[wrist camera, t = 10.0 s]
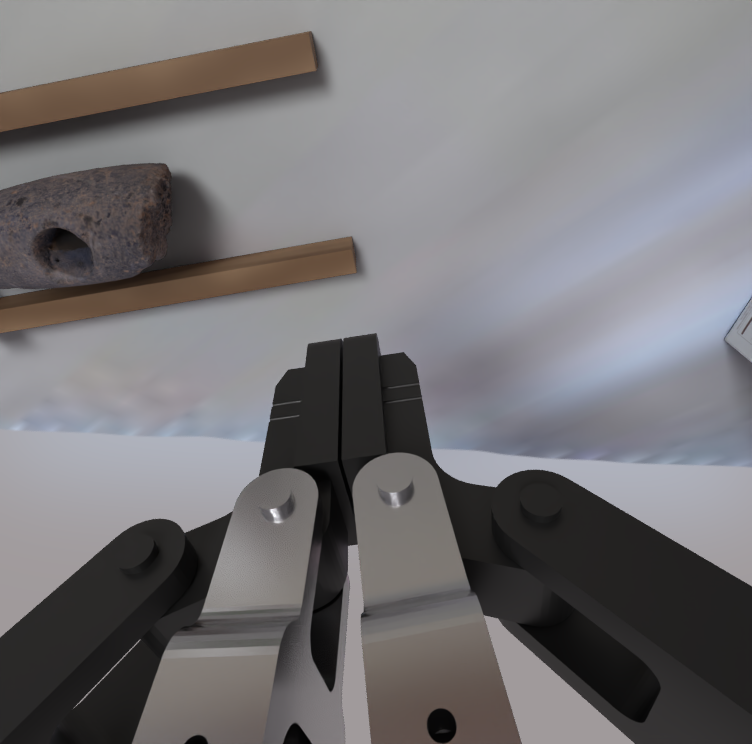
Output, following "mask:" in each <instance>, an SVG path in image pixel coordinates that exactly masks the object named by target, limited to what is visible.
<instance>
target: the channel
mask: <svg viewBox="0 0 752 744" xmlns="http://www.w3.org/2000/svg"><path fill="white" fill-rule="evenodd" d="M317 68H318V63H317V58H316V53H315V48H314V43H313V38H312V33H311V31H310V32H304V33H299V34H294V35H289V36H284V37H279V38H274V39H269V40H264V41H259V42H254V43H249V44H244V45H239V46H234V47H229V48H224V49H219V50H214V51H209V52H204V53H199V54H194V55H189V56H184V57H179V58H174V59H169V60H163V61H158V62H153V63H148V64H143V65H138V66H133V67H128V68H123V69H118V70H113V71H108V72H103V73H98V74H93V75H88V76H83V77H78V78H73V79H68V80H63V81H58V82H53V83H48V84H43V85H38V86H33V87H28V88H22V89H17V90H12V91H7V92H2V93H0V132H3V131H8V130H13V129H18V128H23V127H29V126H34V125H39V124H44V123H49V122H54V121H60V120H65V119H70V118H75V117H80V116H85V115H90V114H96V113H101V112H106V111H111V110H116V109H121V108H127V107H132V106H137V105H142V104H147V103H152V102H158V101H163V100H168V99H173V98H178V97H183V96H189V95H194V94H199V93H204V92H209V91H214V90H219V89H225V88H230V87H235V86H240V85H245V84H250V83H256V82H261V81H266V80H271V79H276V78H281V77H287V76H292V75H297V74H302V73H307V72H312V71H316V70H317ZM352 273H357V272H356V256H355V251H354V246H353V241H352V237H346V238H340V239H334V240H329V241H323V242H317V243H311V244H306V245H300V246H294V247H288V248H283V249H277V250H271V251H265V252H260V253H254V254H248V255H242V256H237V257H231V258H225V259H219V260H214V261H208V262H202V263H196V264H191V265H185V266H179V267H173V268H168V269H162V270H156V271H150V272H144V273H140V274H138V275H136V276H134V277H132V278H127V279H122V280H117V281H110V282H104V283H98V284H90V285H83V286H72V287H62V288H52V289H47V290H41V291H35V292H29V293H24V294H18V295H12V296H6V297H1V298H0V333H4V332H10V331H16V330H22V329H28V328H34V327H39V326H45V325H51V324H57V323H63V322H69V321H75V320H81V319H87V318H93V317H99V316H104V315H110V314H116V313H122V312H128V311H134V310H140V309H146V308H152V307H158V306H163V305H169V304H175V303H181V302H187V301H193V300H199V299H205V298H211V297H217V296H222V295H228V294H234V293H240V292H246V291H252V290H258V289H264V288H270V287H276V286H282V285H287V284H293V283H299V282H305V281H311V280H317V279H323V278H329V277H335V276H341V275H346V274H352Z"/></svg>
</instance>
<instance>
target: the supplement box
mask: <svg viewBox="0 0 752 744" xmlns="http://www.w3.org/2000/svg"><path fill="white" fill-rule="evenodd" d="M725 341H726V342H727V343H729V344H730V345H731V346H732V347H733V348H735V349H736V350H737V351H738V352H739V353H741V354H742V355H743V356H744V357H745V358H747V359H748V360H749V361H750V362H751V363H752V298H751V300H750V301H749V303H748V304H747V306H746V307H745V309H744V310H743V312H742V314H741V315H740V317H739V318H738V320H737V321H736V323H735V324H734V326H733V327H732V329H731V330H730V332H729V333H728V335H727V336H726V338H725Z"/></svg>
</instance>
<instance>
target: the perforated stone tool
mask: <svg viewBox="0 0 752 744" xmlns="http://www.w3.org/2000/svg"><path fill="white" fill-rule="evenodd" d="M171 178H172V176H171V172H170V171H169V168H168V167H167V165H166V164H162V163H159V164H156V163H148V164H131V165H121V166H112V167H105V168H96V169H91V170H86V171H79V172H73V173H68V174H62V175H56V176H52V177H47V178H43V179H39V180H35V181H32V182H28V183H24V184H20V185H16V186H13V187H10V188H7V189H3V190H0V289H10V288H23V289H38V288H62V287H72V286H83V285H90V284H98V283H104V282H110V281H117V280H122V279H127V278H132V277H134V276H136V275H138V274H140V273H141V271H142V270H143V269H145V268H147V267H149V266H151V265H152V264H153V263H154V261H155V260H160V259H163V258H164V257H165V255H166V252H167V246H168V245H167V240H166V235H167V234H168V233H169V232H170V226H171V225H172V218H171V217H172V204H171V198H172V191H171V185H170V181H171Z"/></svg>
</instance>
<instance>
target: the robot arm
mask: <svg viewBox="0 0 752 744" xmlns="http://www.w3.org/2000/svg"><path fill="white" fill-rule="evenodd" d="M357 544H358V551H359V560H360V571H361V580H362V590H363V601H364V612H363V613H362V614H361V637H362V649H363V659H364V670H365V681H366V692H367V703H368V714H369V725H370V735H371V744H522V743H521V739H520V736H519V732H518V729H517V726H516V722H515V719H514V716H513V713H512V709H511V706H510V702H509V699H508V696H507V692H506V689H505V685H504V682H503V679H502V676H501V672H500V669H499V665H498V662H497V658H496V655H495V652H494V648H493V645H492V642H491V638H490V635H489V632H488V628H487V625H486V621H485V618H484V615H485V616H490V617H494V618H498V619H499V620H500V622H501V623H502V625H503V626H504V627H505V628H506V629H507V630H508V631H509V632H510V633H511V634H513V635H514V636H515V637H516V638H517V639H518V640H519V641H520V642H522V643H523V644H524V645H525V646H526V647H527V648H528V649H529V650H531V651H532V652H533V653H534V654H535V655H536V656H537V657H538V658H540V659H541V660H542V661H543V662H544V663H545V664H546V665H547V666H549V667H550V668H551V669H552V670H553V671H554V672H555V673H556V674H557V675H559V676H560V677H561V678H562V679H563V680H564V681H565V682H567V683H568V684H569V685H570V686H571V687H572V688H573V689H574V690H576V691H577V692H578V693H579V694H580V695H581V696H582V697H583V698H584V699H586V700H587V701H588V702H589V703H590V704H591V705H592V706H593V707H595V708H596V709H597V710H598V711H599V712H600V713H601V714H602V715H604V716H605V717H606V718H607V719H608V720H609V721H610V722H611V723H612V724H614V725H615V726H616V727H617V728H618V729H619V730H620V731H621V732H623V733H624V734H625V735H626V736H627V737H628V738H629V739H631V741H633V742H634V743H635V744H752V586H750V585H748V584H747V583H745V582H743V581H741V580H740V579H738V578H736V577H735V576H733V575H731V574H730V573H728V572H726V571H725V570H723V569H721V568H719V567H718V566H716V565H714V564H713V563H711V562H709V561H707V560H706V559H704V558H702V557H700V556H699V555H697V554H696V553H694V552H692V551H690V550H689V549H687V548H685V547H684V546H682V545H680V544H678V543H677V542H675V541H673V540H672V539H670V538H668V537H666V536H665V535H663V534H661V533H660V532H658V531H656V530H655V529H653V528H651V527H649V526H648V525H646V524H644V523H643V522H641V521H639V520H637V519H636V518H634V517H632V516H631V515H629V514H627V513H625V512H624V511H622V510H620V509H619V508H617V507H615V506H613V505H612V504H610V503H608V502H607V501H605V500H603V499H602V498H600V497H598V496H597V495H595V494H593V493H591V492H590V491H588V490H586V489H585V488H583V487H581V486H579V485H578V484H576V483H574V482H573V481H571V480H569V479H567V478H565V477H563V476H561V475H559V474H556V473H553V472H549V471H544V470H526V471H520V472H518V473H514V474H512V475H510V476H508V477H507V478H505V479H504V480H503V481H502V482H501V483H500V484H499V485H498V486H497V487H496V488H495V487H488V486H481V485H475V484H470V483H465V482H462V481H459V480H457V479H455V478H453V477H451V476H450V475H448V474H447V473H445V472H444V471H443V470H442V469H441V468H440V467H439V466H438V464H437V463H436V461H435V460H434V457H433V454H432V450H431V444H430V439H429V434H428V428H427V423H426V417H425V412H424V406H423V401H422V396H421V390H420V385H419V379H418V374H417V368H416V365H415V364H414V363H413V362H412V361H411V360H410V359H409V358H408V356H407V355H406V354H405V353H404V352H402V353H396V354H389V355H382V356H381V353H380V348H379V342H378V337H377V333H375V334H368V335H362V336H355V337H349V338H344V340H343V341H342V339H337V340H330V341H323V342H317V343H310V344H308V347H307V356H306V364H305V367H304V368H297V369H291V370H288V371H287V372H286V373H285V375H284V376H283V377H282V379H281V380H280V381H279V383H278V384H277V385H276V388H275V393H274V399H273V407H272V409H271V415H270V422H269V426H268V431H267V436H266V442H265V448H264V453H263V458H262V463H261V469H260V474H259V477H257V478H256V479H254V480H253V481H252V482H250V483H249V484H248V485H247V486H246V487H245V488H244V490H243V491H242V492H241V493H240V495H239V497H238V499H237V501H236V503H235V506H234V510H233V511H232V512H231V513H229V514H227V515H226V516H224V517H222V518H219V519H217V520H215V521H213V522H210V523H208V524H206V525H203V526H201V527H198V528H196V529H194V530H191V531H189V532H186V533H184V532H183V530H182V529H181V527H180V526H179V525H178V524H177V523H175V522H173V521H170V520H166V519H152V520H148V521H144V522H142V523H139V524H136V525H134V526H132V527H130V528H129V529H127V530H126V531H124V532H122V533H121V534H120V535H119V536H118V537H116V538H115V539H114V540H113V541H111V542H110V543H109V544H108V545H107V546H106V547H104V548H103V549H102V550H101V551H100V552H99V553H97V554H96V555H95V556H94V557H93V558H92V559H91V560H89V561H88V562H87V563H86V564H85V565H84V566H82V567H81V568H80V569H79V570H78V571H77V572H75V573H74V574H73V575H72V576H71V577H70V578H69V579H67V580H66V581H65V582H64V583H63V584H62V585H60V586H59V587H58V588H57V589H56V590H55V591H54V592H52V593H51V594H50V595H49V596H48V597H47V598H46V599H44V600H43V601H42V602H41V603H40V604H39V605H37V606H36V607H35V608H34V609H33V610H32V611H31V612H29V613H28V614H27V615H26V616H25V617H23V618H22V619H21V620H20V621H19V622H18V623H16V624H15V625H14V626H13V627H12V628H11V629H10V630H9V631H7V632H6V633H5V634H4V635H3V636H2V637H1V638H0V744H345V725H344V717H343V709H342V684H343V671H344V657H345V644H346V631H347V617H348V603H349V590H350V582H349V577H348V574H347V572H348V546H349V545H357ZM140 639H141V640H140ZM138 640H140V641H139V643H138V644H137V645H136V646H135V647H134V648H133V649H132V650H131V651H130V652H129V653H128V654H127V655H126V656H125V657H124V658H123V659H122V660H121V661H120V662H119V663H118V664H117V665H116V666H115V667H114V668H113V669H112V671H111V672H110V673H109V674H108V675H107V676H106V677H105V678H104V679H103V680H102V681H101V682H100V683H99V684H98V685H97V686H96V687H95V688H94V689H93V690H92V691H91V692H90V693H89V694H88V696H87V697H86V698H85V699H84V700H83V701H82V702H81V703H80V704H78V703H79V702H80V701H81V700H82V698H84V696H85V695H86V694H87V693H88V692H89V691H90V690H91V689H92V688H93V687H94V686H95V685H96V684H97V683H98V682H99V681H100V680H101V679H102V678H103V677H104V676H105V675H106V674H107V673H108V672H109V671H110V670H111V668H112V667H113V666H114V665H115V664H116V663H117V662H118V661H119V660H120V659H121V658H122V657H123V656H124V655H125V654H126V653H127V652H128V651H129V650H130V649H131V648H132V647H133V646H134V645H135V644H136V642H138ZM77 704H78V705H77ZM76 705H77V706H76ZM75 706H76V707H75ZM74 707H75V708H74ZM73 708H74V709H73Z"/></svg>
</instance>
